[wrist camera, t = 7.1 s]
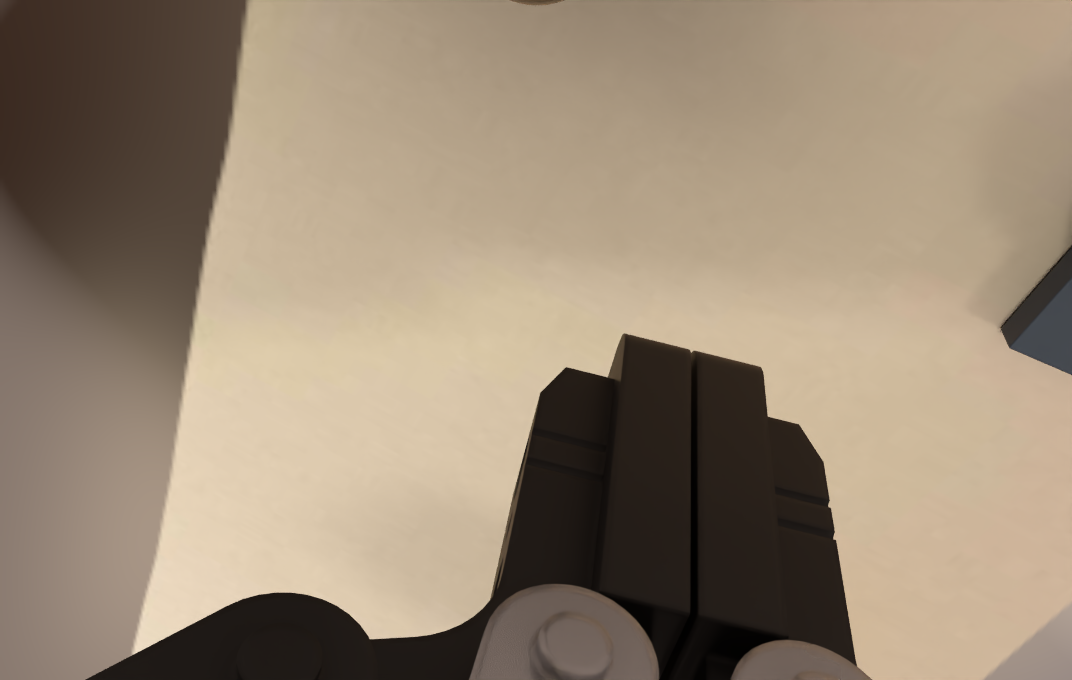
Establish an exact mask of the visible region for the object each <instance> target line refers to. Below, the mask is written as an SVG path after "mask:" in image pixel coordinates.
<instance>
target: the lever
mask: <svg viewBox="0 0 1072 680" xmlns="http://www.w3.org/2000/svg"><path fill="white" fill-rule="evenodd" d="M510 1H513V2H517V3H521V4H526V5H548V4H553V3H557V2H561V1H564V0H510Z"/></svg>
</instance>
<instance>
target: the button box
mask: <svg viewBox="0 0 1072 680" xmlns="http://www.w3.org/2000/svg"><path fill="white" fill-rule="evenodd" d="M1001 330H1002V333H1003V335H1004V337H1005V339H1006V342H1007V344H1008V346H1009V348H1011V349H1013V350H1015V351H1018V352H1020V353H1022V354H1025V355H1027V356H1029V357H1031V358H1034V359H1036V360H1038V361H1041V362H1043V363H1045V364H1048V365H1050V366H1052V367H1055V368H1057V369H1059V370H1062V371H1064V372H1066V373H1069V374H1071V375H1072V248H1071V249H1070V250H1069V251H1068V252H1067V253H1066V255H1065V256H1064V257H1063V258H1062V259H1061V260H1060V261H1059V263H1058V264H1057V265H1056V266H1055V267H1054V268H1053V269H1052V271H1051V272H1050V273H1049V274H1048V275H1047V276H1046V277H1045V279H1044V280H1043V281H1042V282H1041V283H1040V284H1039V285H1038V287H1037V288H1036V289H1035V290H1034V291H1033V292H1032V294H1031V295H1030V296H1029V297H1028V298H1027V299H1026V300H1025V302H1024V303H1023V304H1022V305H1021V306H1020V307H1019V308H1018V310H1017V311H1016V312H1015V313H1014V314H1013V315H1012V316H1011V318H1010V319H1009V320H1008V321H1007V322H1006V323H1005V324H1004V326H1003V327H1002V328H1001Z"/></svg>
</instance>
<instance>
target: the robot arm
mask: <svg viewBox="0 0 1072 680" xmlns="http://www.w3.org/2000/svg"><path fill="white" fill-rule="evenodd" d="M829 501H830V500H829V494H828V487H827V481H826V475H825V469H824V463H823V461H822V459H821V458H820V456H819V455H818V453H817V452H816V450H815V448H814V447H813V445H812V444H811V442H810V441H809V439H808V438H807V436H806V435H805V433H804V432H803V430H802V429H801V427H800V425H799V424H795V423H791V422H787V421H783V420H779V419H775V418H770V417H768V416H767V405H766V395H765V385H764V375H763V371H762V368H761V367H759V366H755V365H751V364H746V363H742V362H738V361H734V360H730V359H726V358H722V357H718V356H714V355H710V354H706V353H702V352H698V351H693V352H692V353H691V352H690V350H689V349H685V348H681V347H677V346H673V345H669V344H665V343H661V342H657V341H653V340H648V339H644V338H640V337H636V336H632V335H628V334H623V335H622V337H621V340H620V342H619V345H618V347H617V350H616V354H615V357H614V360H613V363H612V366H611V369H610V372H609V376H608V378H607V377H603V376H599V375H595V374H591V373H587V372H583V371H579V370H575V369H571V368H567V367H566V368H565V369H564V370H563V371H562V372H561V373H560V374H559V375H558V376H557V377H556V378H555V379H554V380H553V381H552V382H551V383H550V384H549V385H548V386H547V387H546V388H545V389H544V390H543V391H542V392H541V393H540V397H539V400H538V404H537V408H536V412H535V415H534V419H533V423H532V426H531V430H530V434H529V438H528V441H527V445H526V449H525V453H524V456H523V460H522V464H521V468H520V471H519V475H518V479H517V482H516V486H515V490H514V494H513V498H512V503H511V507H510V512H509V517H508V521H507V526H506V530H505V535H504V539H503V544H502V549H501V553H500V558H499V563H498V567H497V572H496V576H495V581H494V585H493V590H492V594H491V599H490V601H489V602H488V603H487V605H486V606H485V607H484V608H483V609H482V610H481V611H480V612H479V613H477V614H476V615H475V616H474V617H473V618H471V619H469V620H468V621H466V622H464V623H463V624H461V625H459V626H457V627H454V628H452V629H450V630H447V631H444V632H440V633H436V634H433V635H427V636H419V637H408V638H389V639H371V640H370V639H369V637H368V635H367V634H366V633H365V631H364V630H363V629H362V627H361V626H360V624H359V623H357V622H356V621H355V620H354V619H353V618H352V617H351V616H350V615H349V614H348V613H346V612H345V611H343V610H342V609H340V608H339V607H337V606H336V605H333V604H331V603H329V602H327V601H325V600H323V599H319V598H316V597H312V596H309V595H303V594H296V593H270V594H262V595H257V596H253V597H250V598H246V599H242V600H240V601H238V602H235V603H233V604H231V605H229V606H226V607H224V608H222V609H221V610H219V611H217V612H215V613H213V614H211V615H209V616H207V617H205V618H203V619H201V620H199V621H197V622H196V623H194V624H192V625H190V626H188V627H186V628H184V629H182V630H180V631H178V632H176V633H174V634H172V635H171V636H169V637H167V638H165V639H163V640H161V641H159V642H157V643H155V644H153V645H151V646H149V647H147V648H146V649H144V650H142V651H140V652H138V653H136V654H134V655H132V656H130V657H128V658H126V659H124V660H123V661H121V662H119V663H117V664H115V665H113V666H111V667H109V668H107V669H105V670H103V671H102V672H99V673H97V674H96V675H94V676H92V677H90V678H88V679H86V680H872V679H871V678H870V677H868V676H867V675H866V674H865V673H864V672H863V671H862V670H860V669H859V668H858V667H857V664H856V660H855V654H854V648H853V641H852V635H851V629H850V623H849V617H848V611H847V605H846V598H845V592H844V586H843V580H842V574H841V568H840V561H839V555H838V549H837V543H836V540H833V536H834V533H835V531H834V524H833V518H832V512H831V508H829V507H828V503H829Z"/></svg>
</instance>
